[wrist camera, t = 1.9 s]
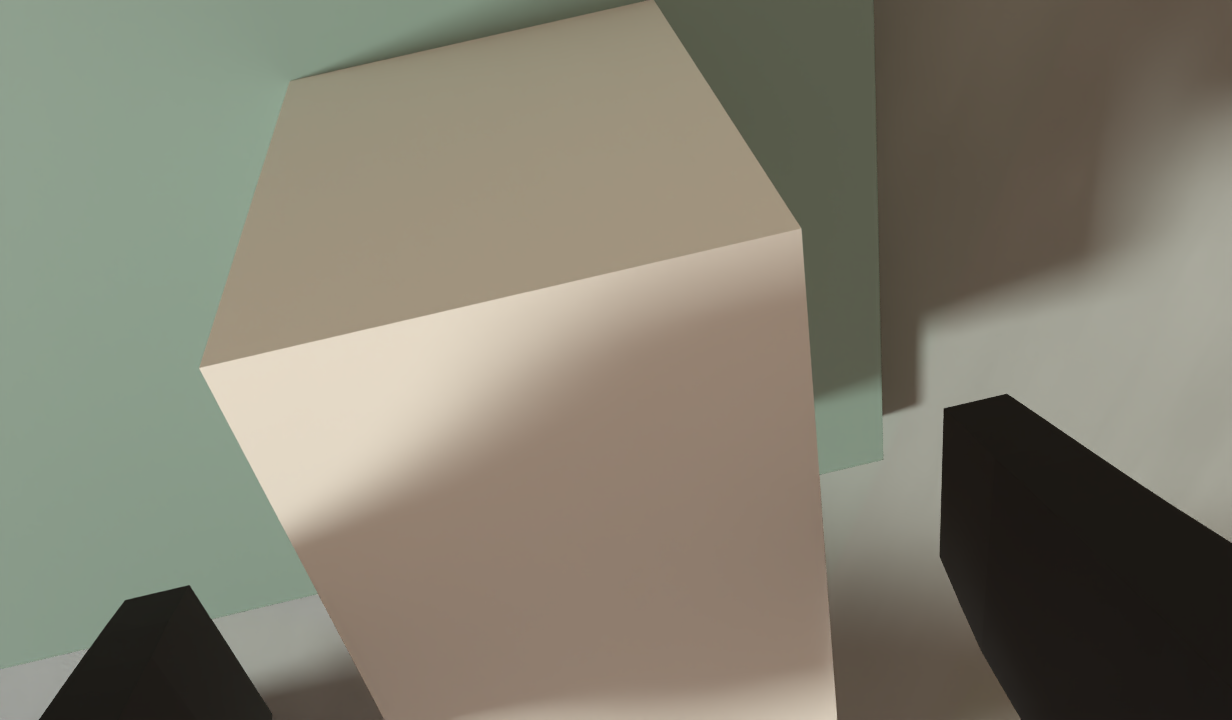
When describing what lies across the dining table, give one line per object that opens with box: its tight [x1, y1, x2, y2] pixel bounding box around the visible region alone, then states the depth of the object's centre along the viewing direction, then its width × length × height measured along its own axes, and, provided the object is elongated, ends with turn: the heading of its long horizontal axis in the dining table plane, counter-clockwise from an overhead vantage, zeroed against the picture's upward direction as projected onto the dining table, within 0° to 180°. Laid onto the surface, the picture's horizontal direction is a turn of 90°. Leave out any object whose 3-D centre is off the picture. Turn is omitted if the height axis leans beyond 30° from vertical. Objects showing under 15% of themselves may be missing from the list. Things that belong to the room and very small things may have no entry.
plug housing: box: [199, 0, 837, 720], centre depth 12 cm, size 7×4×6 cm, turn 10°
